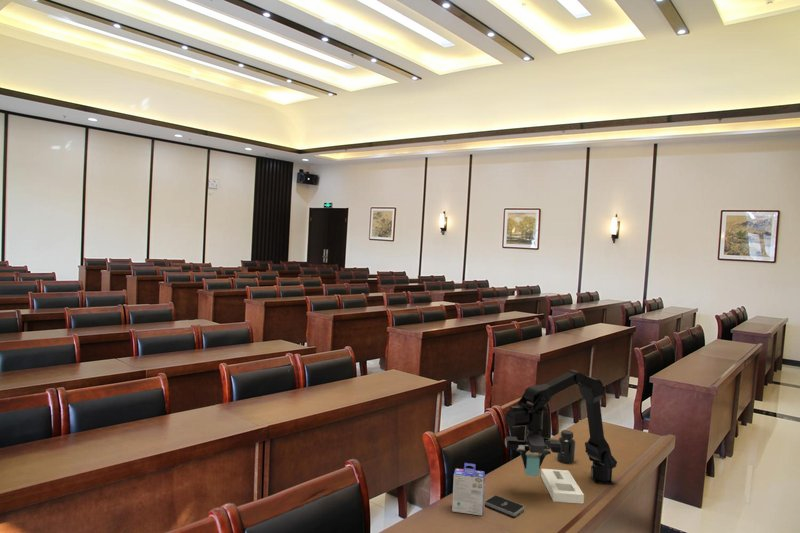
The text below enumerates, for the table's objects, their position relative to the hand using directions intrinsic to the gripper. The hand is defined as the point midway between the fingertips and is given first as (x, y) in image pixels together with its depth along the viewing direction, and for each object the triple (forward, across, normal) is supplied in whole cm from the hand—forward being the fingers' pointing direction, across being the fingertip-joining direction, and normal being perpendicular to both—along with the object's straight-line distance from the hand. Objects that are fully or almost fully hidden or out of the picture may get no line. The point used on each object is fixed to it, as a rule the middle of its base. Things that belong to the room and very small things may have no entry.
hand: (531, 468), depth 178 cm
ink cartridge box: (+9, -23, -16) cm, 29 cm away
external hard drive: (+9, -11, -13) cm, 19 cm away
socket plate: (+8, +12, +5) cm, 15 cm away
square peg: (+2, 0, 0) cm, 2 cm away
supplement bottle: (+9, +20, +32) cm, 39 cm away
